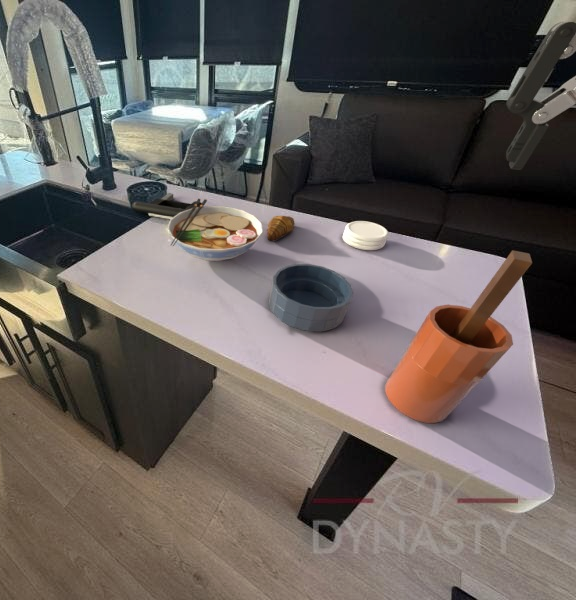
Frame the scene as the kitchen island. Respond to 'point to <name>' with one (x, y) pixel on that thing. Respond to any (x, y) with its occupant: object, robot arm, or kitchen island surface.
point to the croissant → (279, 227)
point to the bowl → (310, 297)
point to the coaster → (365, 235)
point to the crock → (444, 365)
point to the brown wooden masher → (492, 296)
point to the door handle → (163, 207)
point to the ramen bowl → (214, 231)
